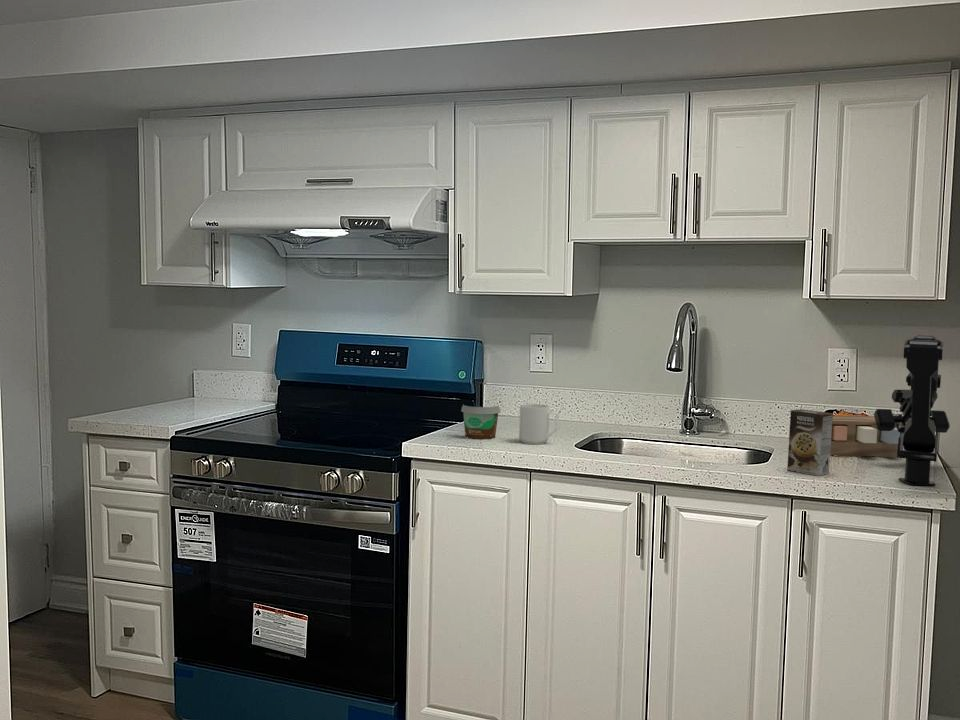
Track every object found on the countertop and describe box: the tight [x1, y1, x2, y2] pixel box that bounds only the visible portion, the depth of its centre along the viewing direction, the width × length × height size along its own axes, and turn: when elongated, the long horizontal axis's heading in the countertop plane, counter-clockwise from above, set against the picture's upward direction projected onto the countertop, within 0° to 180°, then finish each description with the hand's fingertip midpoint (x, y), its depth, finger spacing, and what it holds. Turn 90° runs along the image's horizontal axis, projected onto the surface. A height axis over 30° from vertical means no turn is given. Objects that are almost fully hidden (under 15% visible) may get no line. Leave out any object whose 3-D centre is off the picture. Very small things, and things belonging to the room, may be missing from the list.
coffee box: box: [786, 409, 834, 477], centre depth 247 cm, size 9×6×16 cm
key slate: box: [879, 428, 900, 444], centre depth 271 cm, size 6×4×4 cm, turn 1°
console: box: [830, 414, 898, 458], centre depth 279 cm, size 12×22×10 cm, turn 91°
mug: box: [518, 403, 560, 445], centre depth 284 cm, size 12×9×11 cm
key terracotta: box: [831, 424, 847, 441], centre depth 274 cm, size 6×4×4 cm, turn 1°
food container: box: [460, 403, 501, 440], centre depth 289 cm, size 12×6×10 cm, turn 80°
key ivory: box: [856, 426, 877, 443], centre depth 271 cm, size 6×4×4 cm, turn 1°
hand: (901, 438), depth 264 cm, fingers closed
